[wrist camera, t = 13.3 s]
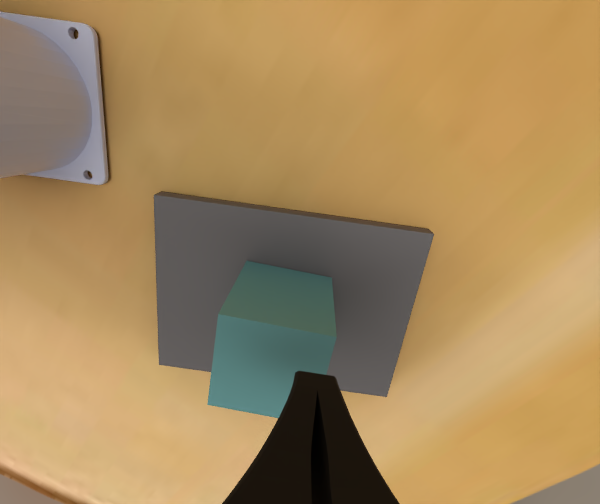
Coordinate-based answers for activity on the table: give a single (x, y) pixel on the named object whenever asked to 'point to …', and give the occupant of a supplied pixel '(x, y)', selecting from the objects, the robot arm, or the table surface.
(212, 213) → the pin stand
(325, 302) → the teal square block
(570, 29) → the table surface
